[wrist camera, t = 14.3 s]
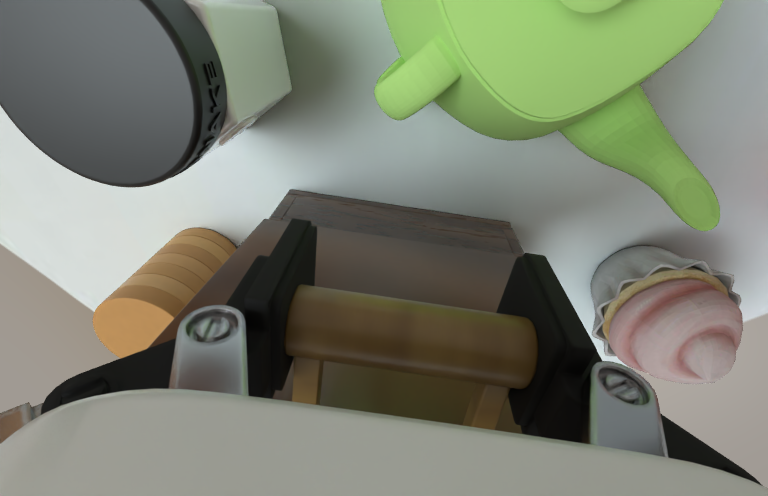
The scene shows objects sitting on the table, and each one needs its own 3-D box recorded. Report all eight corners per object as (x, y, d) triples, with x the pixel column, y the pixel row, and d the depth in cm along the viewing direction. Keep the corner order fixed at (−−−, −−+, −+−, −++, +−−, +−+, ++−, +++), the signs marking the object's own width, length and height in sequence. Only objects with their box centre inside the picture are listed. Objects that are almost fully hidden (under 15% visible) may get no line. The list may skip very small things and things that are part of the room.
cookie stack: (171, 217, 31) (88, 286, 23) (248, 240, 31) (193, 314, 24) (169, 277, 34) (96, 355, 26) (239, 297, 34) (188, 379, 27)
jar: (225, 149, 28) (113, 228, 17) (130, 43, 24) (-77, 62, 14) (321, 71, 24) (254, 110, 14) (227, -62, 21) (53, -136, 11)
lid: (701, 570, 10) (833, 432, 8) (53, 479, 10) (-10, 309, 7) (527, 269, 24) (555, 190, 22) (264, 230, 24) (264, 146, 22)
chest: (462, 362, 37) (468, 410, 32) (288, 336, 36) (270, 382, 32) (509, 221, 29) (527, 260, 24) (289, 188, 29) (266, 220, 24)
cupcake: (559, 248, 30) (617, 341, 21) (694, 209, 28) (822, 296, 19) (577, 334, 34) (633, 440, 25) (696, 306, 32) (801, 413, 23)
